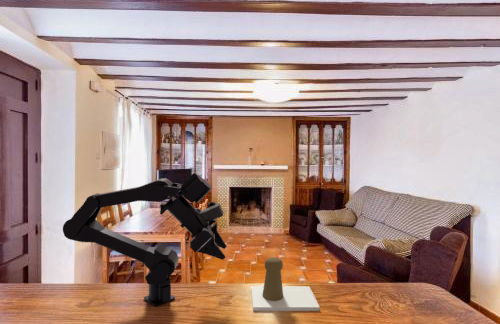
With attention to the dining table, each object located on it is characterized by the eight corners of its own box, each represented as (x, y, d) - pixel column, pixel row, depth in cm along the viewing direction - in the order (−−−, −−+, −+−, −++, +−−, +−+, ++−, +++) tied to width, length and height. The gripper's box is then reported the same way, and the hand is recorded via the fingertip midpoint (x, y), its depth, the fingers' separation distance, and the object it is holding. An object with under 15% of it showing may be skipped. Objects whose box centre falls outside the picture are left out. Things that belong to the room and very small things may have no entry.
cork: (282, 302, 92) (283, 263, 92) (260, 299, 94) (261, 261, 93) (284, 292, 98) (285, 256, 98) (264, 290, 100) (265, 254, 99)
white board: (253, 310, 89) (253, 307, 89) (251, 289, 102) (251, 286, 102) (319, 310, 90) (319, 307, 90) (309, 289, 103) (309, 286, 103)
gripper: (203, 199, 84) (246, 243, 85) (209, 189, 103) (244, 225, 104) (171, 230, 84) (215, 273, 85) (183, 214, 103) (219, 249, 104)
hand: (225, 252), depth 95 cm, fingers open, 9 cm apart
